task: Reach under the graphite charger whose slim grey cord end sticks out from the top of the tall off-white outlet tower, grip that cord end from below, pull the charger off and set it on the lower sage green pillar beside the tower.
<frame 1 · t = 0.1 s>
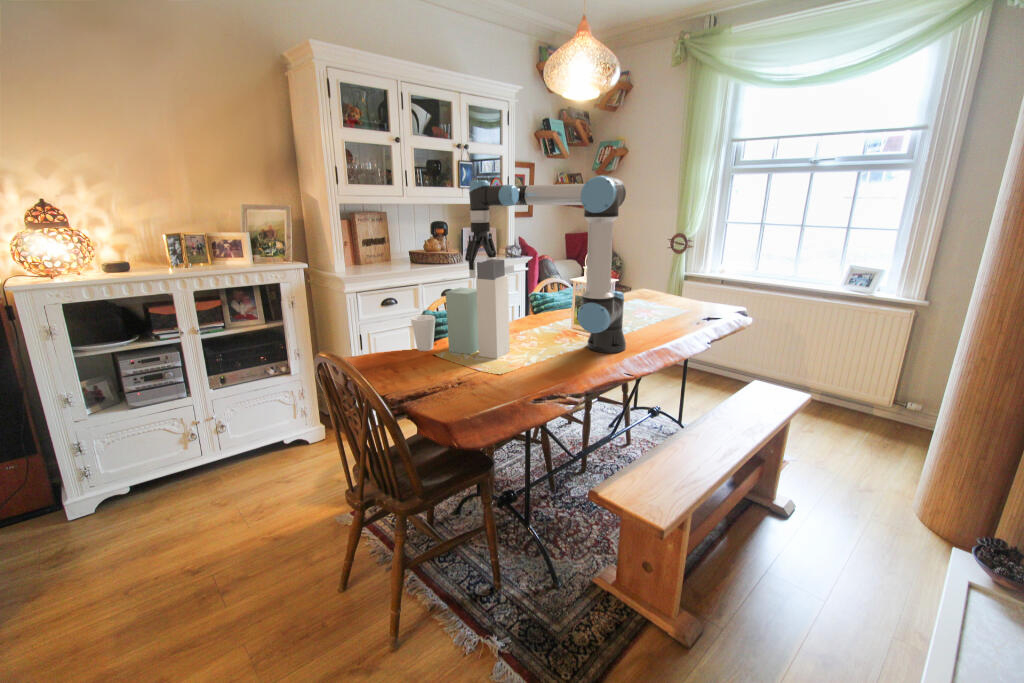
hand: (482, 275, 192), 28 cm above the table, tool pointing down, fingers open, 13 cm apart
charger: (498, 275, 180), point 30 cm above the table, touching outlet tower
foam cup: (425, 349, 192), on the table
outlet tower: (494, 353, 184), on the table
sage green pillar: (466, 349, 190), on the table
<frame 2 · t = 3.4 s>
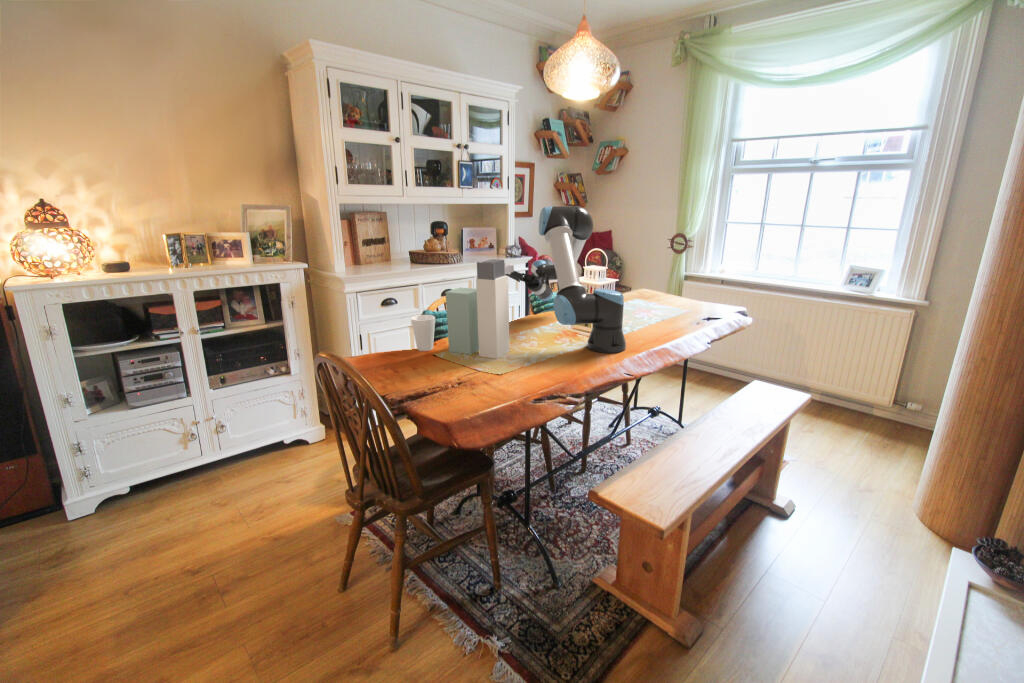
hand: (517, 266, 204), 30 cm above the table, tool pointing upward, fingers open, 13 cm apart
nothing on the table moved.
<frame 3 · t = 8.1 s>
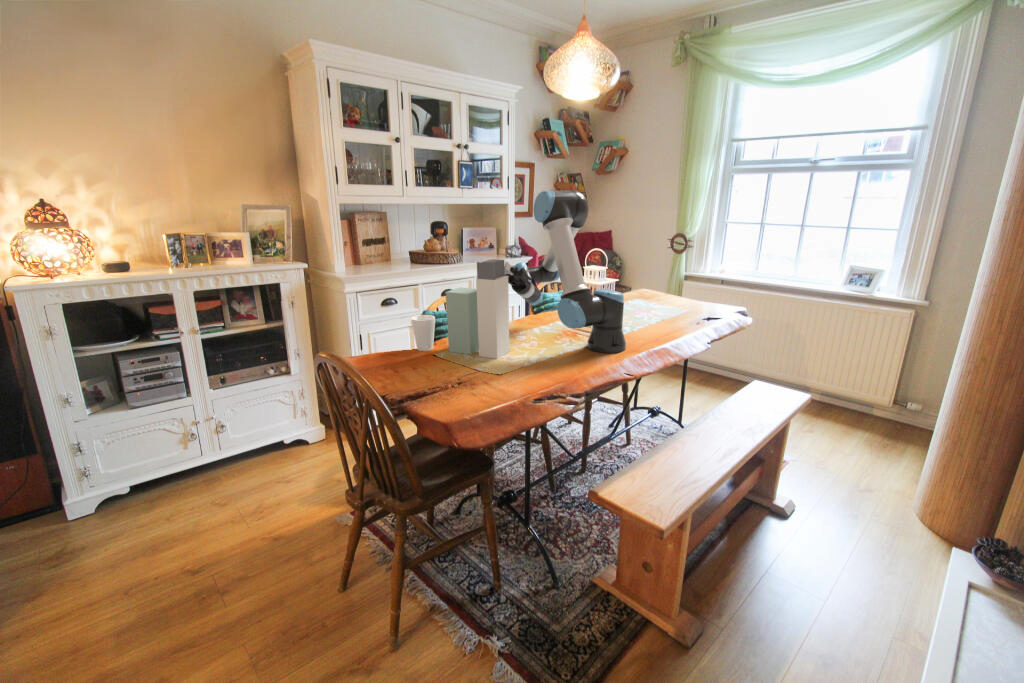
hand: (499, 264, 179), 34 cm above the table, tool pointing upward, fingers closed on charger, 5 cm apart
charger: (498, 275, 180), point 30 cm above the table, touching gripper, outlet tower
everything else where it was.
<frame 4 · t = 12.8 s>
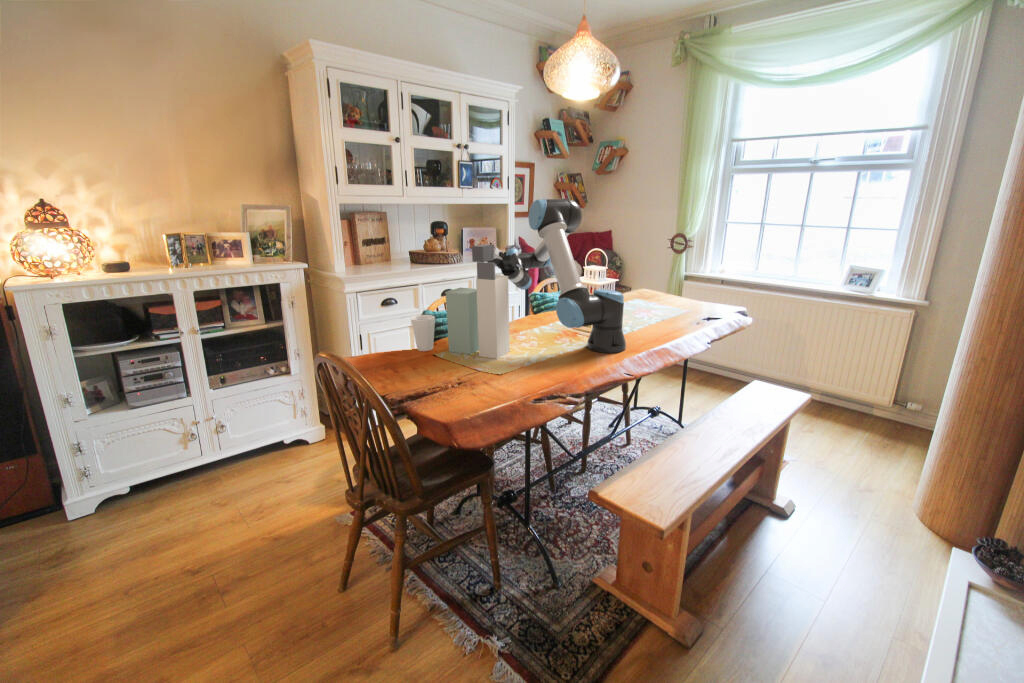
hand: (488, 249, 191), 38 cm above the table, tool pointing upward, fingers closed on charger, 5 cm apart
charger: (488, 259, 192), point 34 cm above the table, touching gripper
everything else where it was.
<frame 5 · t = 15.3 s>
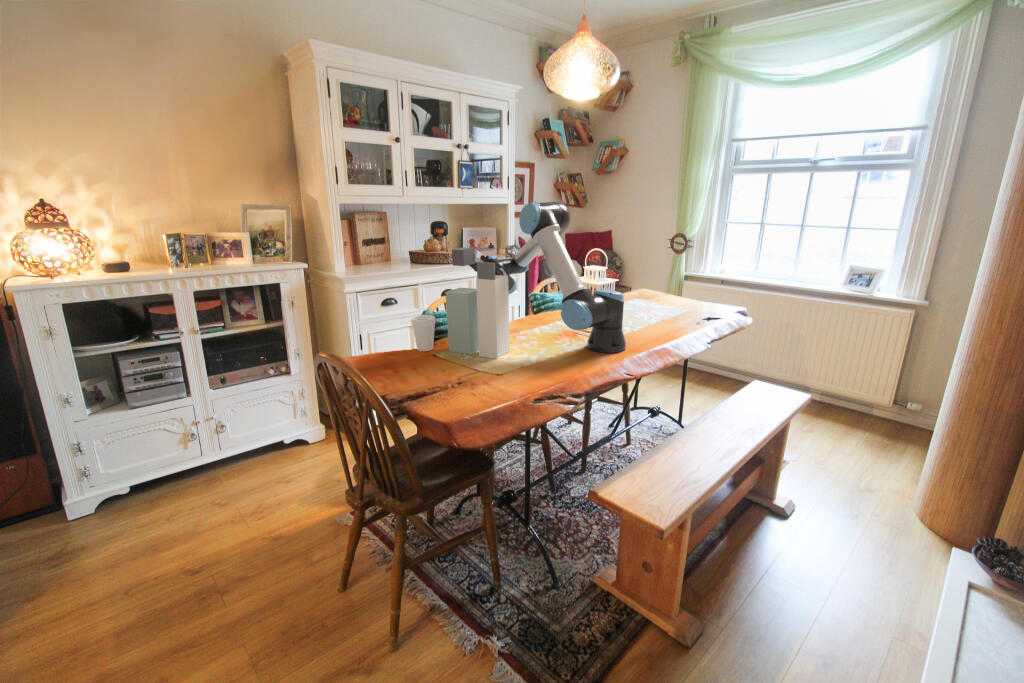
hand: (469, 253, 183), 38 cm above the table, tool pointing upward, fingers closed on charger, 5 cm apart
charger: (469, 263, 184), point 34 cm above the table, touching gripper
everything else where it was.
when the fingers open (29 cm above the table, at t = 17.5 s): charger drops 2 cm, resting on sage green pillar.
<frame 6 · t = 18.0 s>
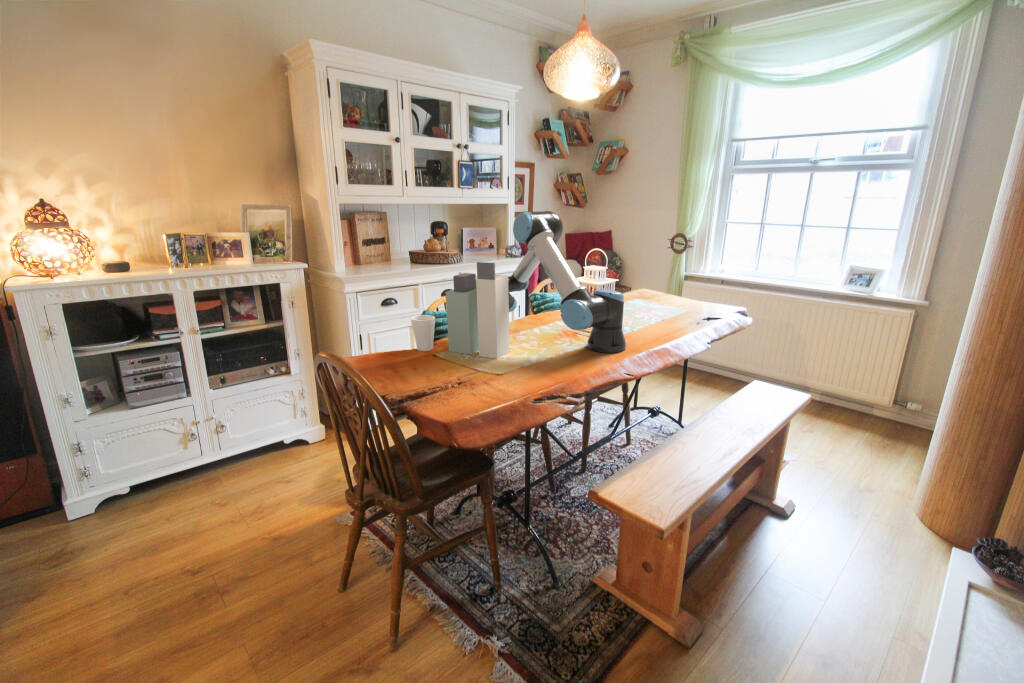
hand: (472, 276, 187), 29 cm above the table, tool pointing upward, fingers open, 12 cm apart
charger: (470, 288, 187), point 24 cm above the table, touching sage green pillar
everything else where it was.
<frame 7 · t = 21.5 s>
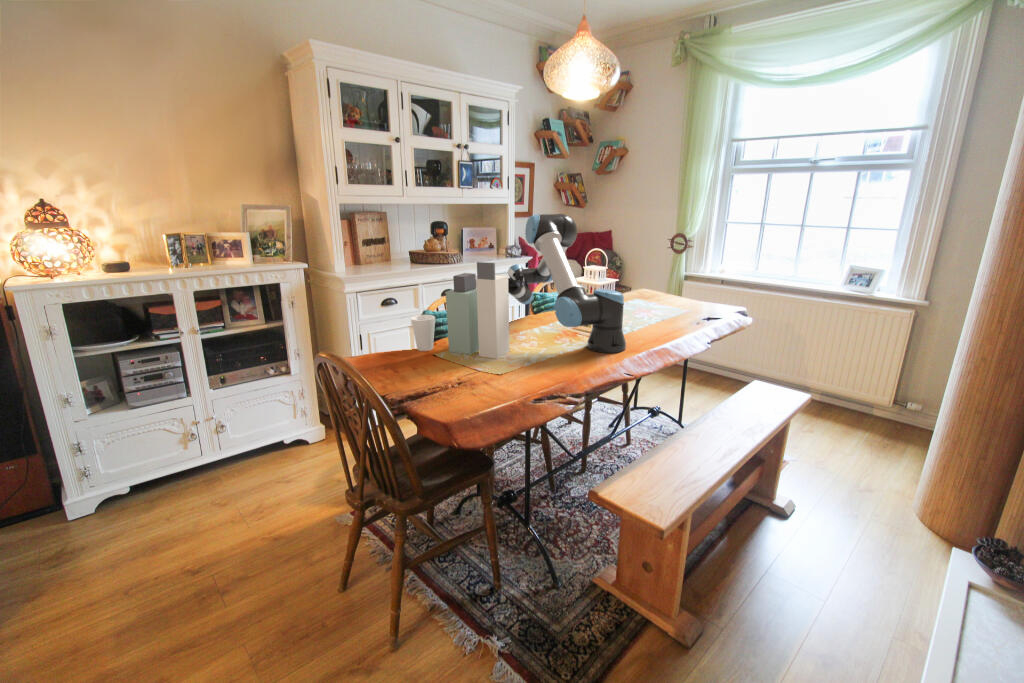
hand: (495, 270, 203), 28 cm above the table, tool pointing upward, fingers open, 13 cm apart
nothing on the table moved.
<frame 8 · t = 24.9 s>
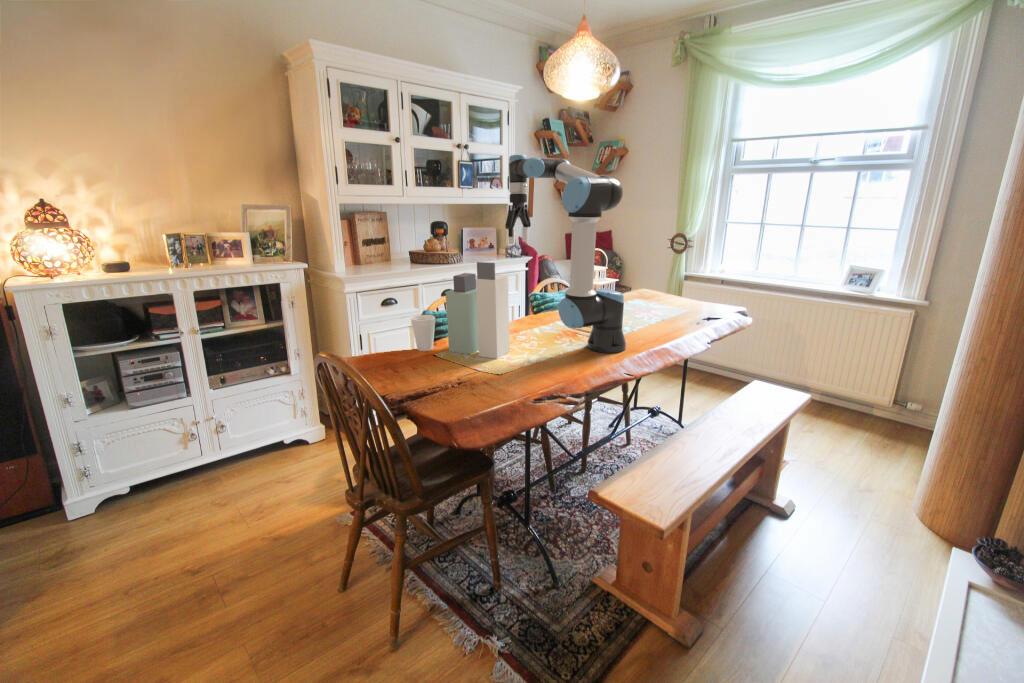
hand: (518, 243, 211), 39 cm above the table, tool pointing down, fingers open, 13 cm apart
nothing on the table moved.
at the end: charger inside the target area on the sage green pillar (0.1 cm from its centre), point 24.0 cm above the sage green pillar's base; charger touching sage green pillar; the gripper is holding nothing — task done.
